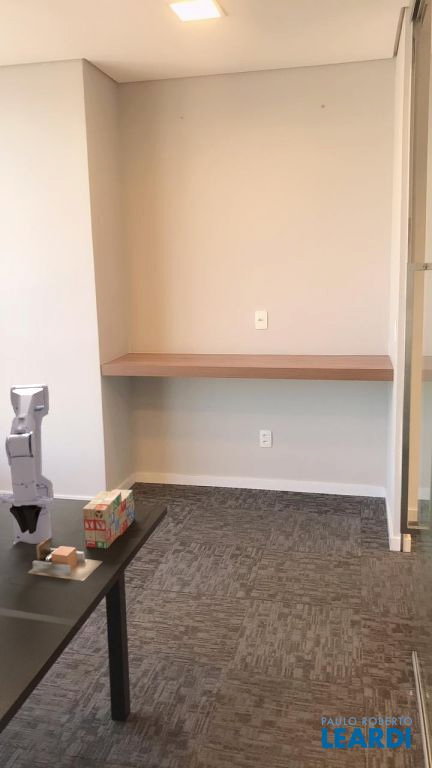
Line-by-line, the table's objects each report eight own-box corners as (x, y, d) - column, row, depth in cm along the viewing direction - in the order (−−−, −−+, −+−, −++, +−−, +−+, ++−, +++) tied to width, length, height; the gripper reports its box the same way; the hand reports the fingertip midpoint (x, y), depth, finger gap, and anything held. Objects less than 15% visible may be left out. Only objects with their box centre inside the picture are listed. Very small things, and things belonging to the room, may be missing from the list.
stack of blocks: (115, 517, 190) (112, 479, 187) (135, 519, 188) (132, 480, 186) (85, 550, 169) (82, 507, 167) (107, 552, 168) (104, 509, 165)
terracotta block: (52, 570, 157) (51, 553, 156) (61, 561, 161) (60, 545, 160) (68, 572, 156) (66, 555, 155) (77, 563, 160) (76, 547, 159)
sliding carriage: (37, 567, 158) (35, 546, 156) (48, 557, 162) (47, 537, 161) (49, 569, 157) (48, 548, 155) (60, 559, 161) (59, 539, 160)
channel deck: (27, 576, 156) (26, 563, 155) (49, 557, 165) (48, 545, 165) (83, 584, 152) (82, 571, 151) (103, 564, 161) (102, 552, 160)
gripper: (-12, 484, 155) (-6, 535, 158) (40, 489, 151) (45, 541, 154) (6, 474, 162) (11, 523, 164) (56, 478, 157) (60, 529, 160)
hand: (28, 531), depth 159 cm, fingers closed
